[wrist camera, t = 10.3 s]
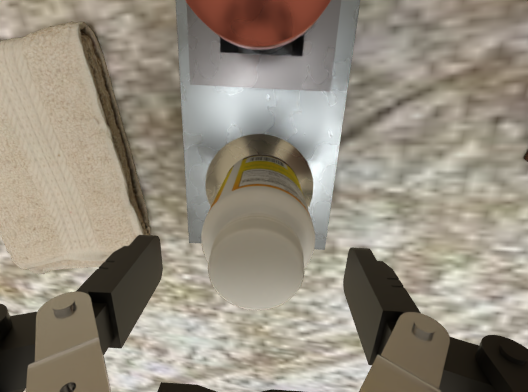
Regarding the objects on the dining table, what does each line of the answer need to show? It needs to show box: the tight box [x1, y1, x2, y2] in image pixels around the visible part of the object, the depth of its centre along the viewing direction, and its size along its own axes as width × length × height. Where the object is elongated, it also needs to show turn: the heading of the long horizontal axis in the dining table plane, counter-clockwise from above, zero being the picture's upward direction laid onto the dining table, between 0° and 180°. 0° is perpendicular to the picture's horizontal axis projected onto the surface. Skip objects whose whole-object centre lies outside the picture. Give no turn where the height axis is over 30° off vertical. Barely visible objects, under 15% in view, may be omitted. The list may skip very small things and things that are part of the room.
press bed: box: [176, 0, 360, 250], centre depth 17 cm, size 18×11×8 cm, turn 177°
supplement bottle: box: [201, 154, 315, 310], centre depth 16 cm, size 6×6×10 cm
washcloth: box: [0, 22, 150, 274], centre depth 21 cm, size 12×18×3 cm, turn 7°
